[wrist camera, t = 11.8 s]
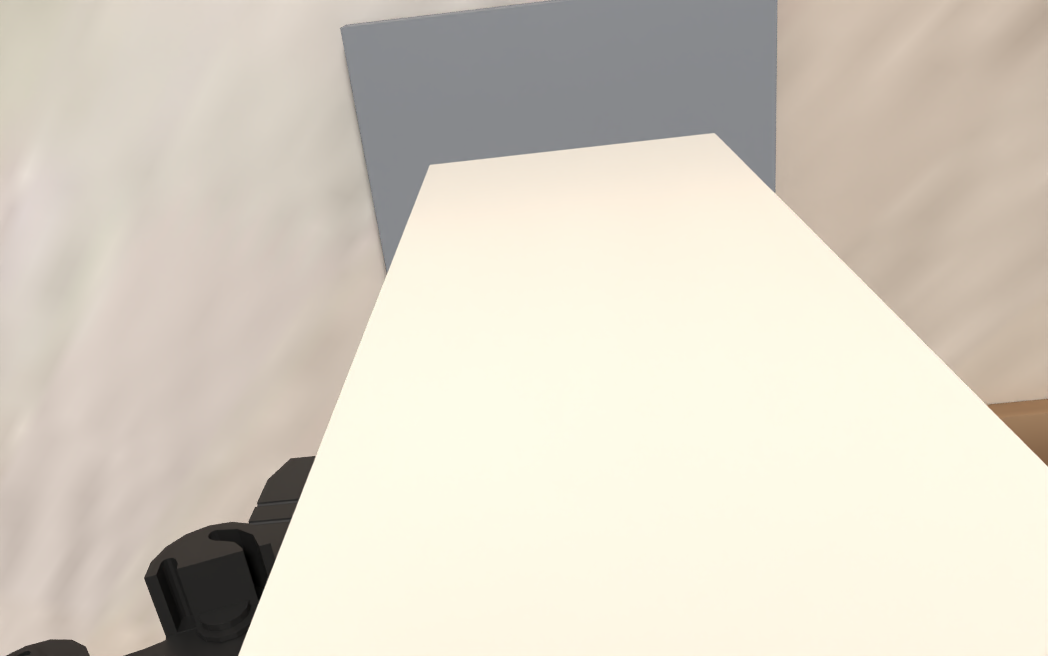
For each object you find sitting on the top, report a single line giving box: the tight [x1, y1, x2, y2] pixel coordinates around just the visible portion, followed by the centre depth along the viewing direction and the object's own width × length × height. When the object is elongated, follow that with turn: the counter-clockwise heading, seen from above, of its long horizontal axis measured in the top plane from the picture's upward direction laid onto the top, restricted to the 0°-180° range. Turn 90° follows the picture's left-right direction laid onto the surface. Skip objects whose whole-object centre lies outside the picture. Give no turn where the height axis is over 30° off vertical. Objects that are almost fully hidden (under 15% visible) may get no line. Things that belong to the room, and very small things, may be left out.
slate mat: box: [340, 0, 777, 273], centre depth 24 cm, size 11×11×1 cm
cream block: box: [238, 133, 1048, 656], centre depth 12 cm, size 6×6×15 cm
